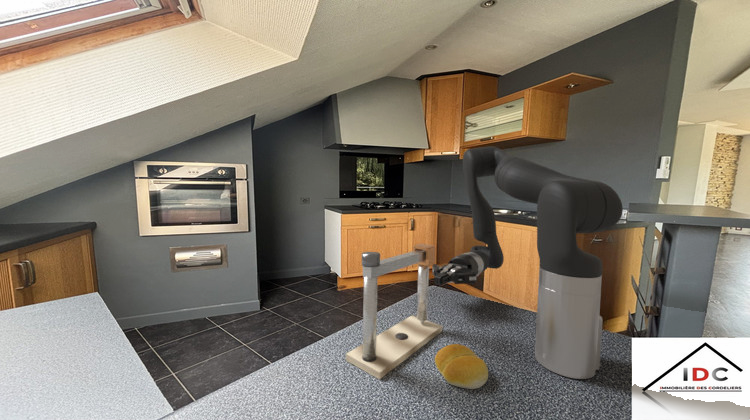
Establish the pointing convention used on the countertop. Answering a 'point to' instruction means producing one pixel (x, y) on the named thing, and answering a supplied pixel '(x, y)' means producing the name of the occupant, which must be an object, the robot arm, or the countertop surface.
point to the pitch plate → (395, 346)
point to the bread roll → (461, 366)
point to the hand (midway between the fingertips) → (437, 281)
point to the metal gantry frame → (370, 273)
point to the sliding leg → (424, 280)
